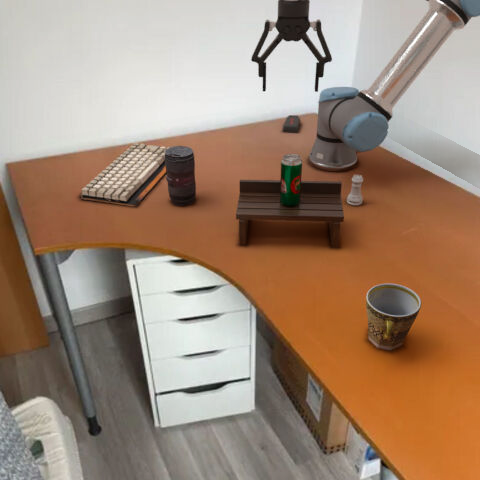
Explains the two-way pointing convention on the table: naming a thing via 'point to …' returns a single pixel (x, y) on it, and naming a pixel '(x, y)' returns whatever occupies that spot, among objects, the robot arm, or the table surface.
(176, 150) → the camera lens
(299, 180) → the soda can
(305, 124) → the table surface
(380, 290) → the ceramic cup
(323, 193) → the dark brown wooden bench
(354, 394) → the table surface
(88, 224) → the table surface
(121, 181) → the mechanical keyboard
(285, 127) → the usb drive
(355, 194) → the rook chess piece
